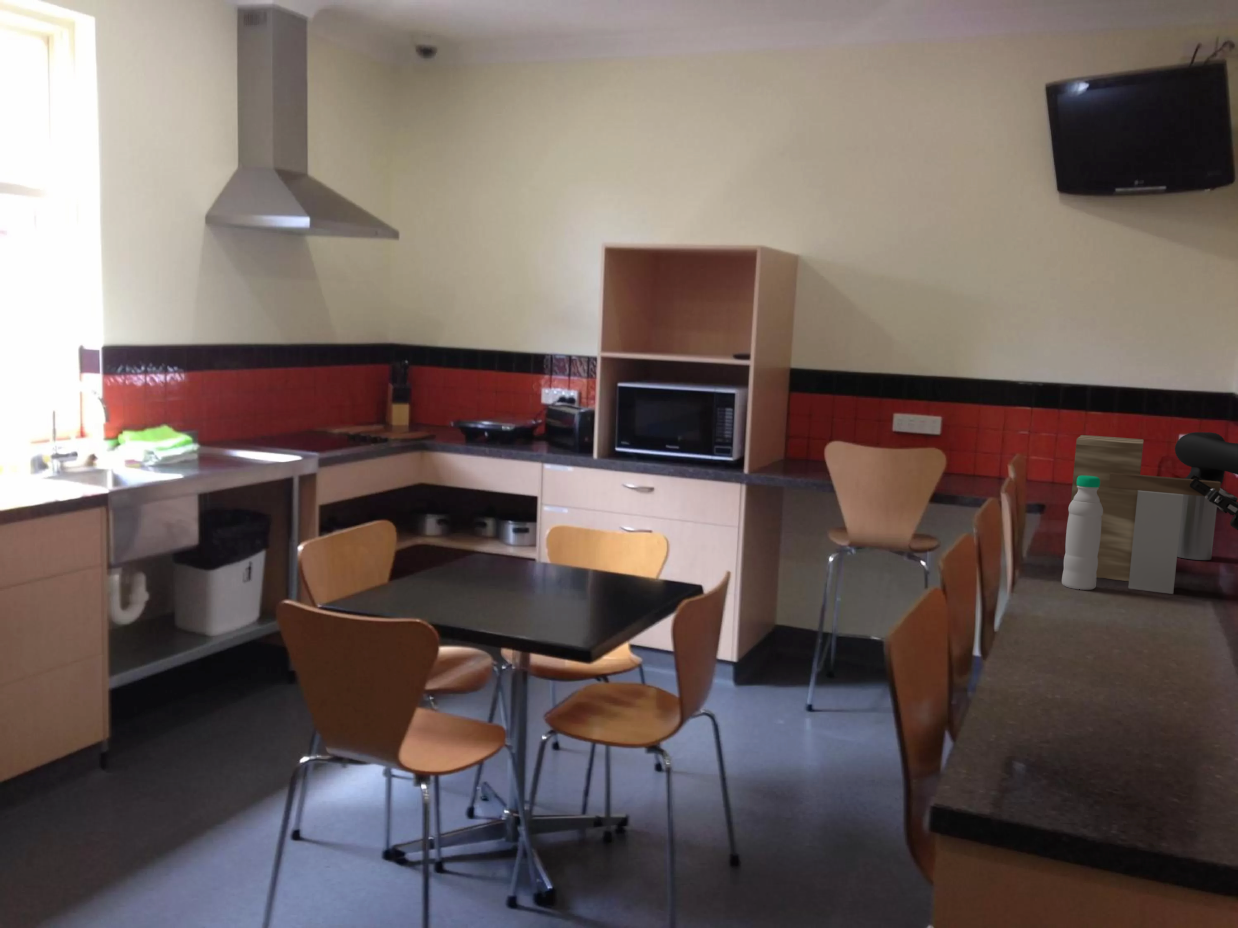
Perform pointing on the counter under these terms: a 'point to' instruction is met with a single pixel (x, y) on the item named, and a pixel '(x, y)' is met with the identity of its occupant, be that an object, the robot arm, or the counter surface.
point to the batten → (1157, 484)
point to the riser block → (1155, 541)
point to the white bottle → (1083, 536)
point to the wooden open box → (1111, 497)
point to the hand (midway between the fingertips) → (1191, 480)
